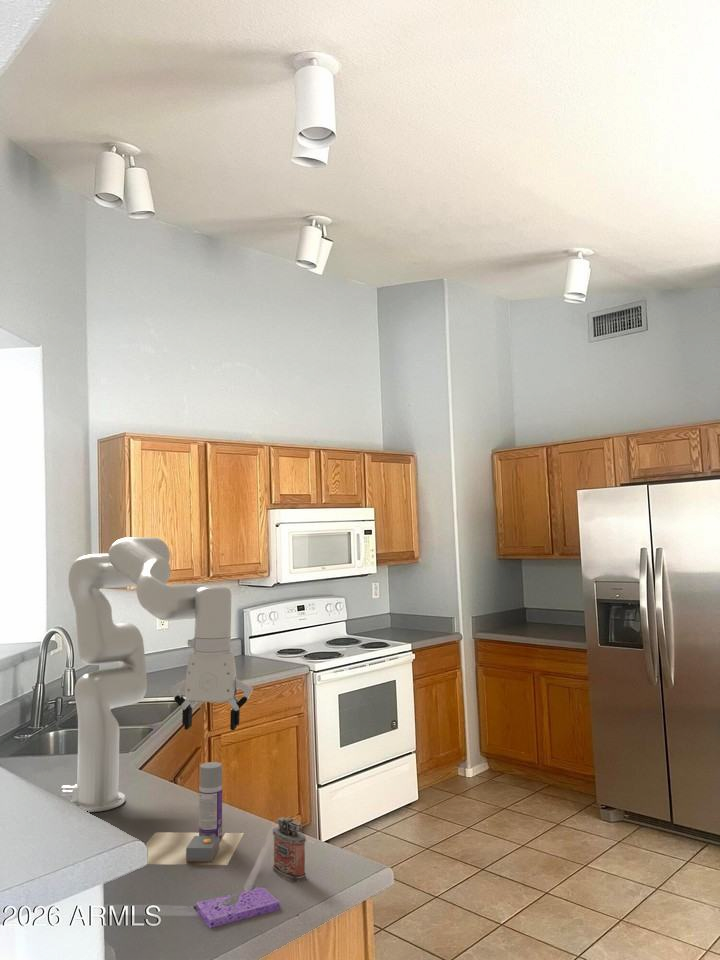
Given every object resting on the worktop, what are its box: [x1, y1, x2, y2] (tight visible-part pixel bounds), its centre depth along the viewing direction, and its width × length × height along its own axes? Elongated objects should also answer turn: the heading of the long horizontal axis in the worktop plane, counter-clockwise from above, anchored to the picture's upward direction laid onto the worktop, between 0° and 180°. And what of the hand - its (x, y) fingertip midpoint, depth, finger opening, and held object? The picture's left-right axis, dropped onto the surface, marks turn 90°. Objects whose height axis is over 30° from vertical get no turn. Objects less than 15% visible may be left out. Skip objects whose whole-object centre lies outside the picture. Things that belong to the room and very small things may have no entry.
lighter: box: [272, 817, 307, 883], centre depth 141 cm, size 8×3×10 cm, turn 44°
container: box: [198, 761, 223, 842], centre depth 156 cm, size 5×5×15 cm
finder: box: [186, 836, 219, 862], centre depth 147 cm, size 5×6×3 cm
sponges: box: [195, 886, 281, 929], centre depth 127 cm, size 7×13×2 cm, turn 120°
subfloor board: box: [145, 831, 245, 866], centre depth 151 cm, size 19×16×1 cm
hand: (210, 728), depth 157 cm, fingers open, 9 cm apart
